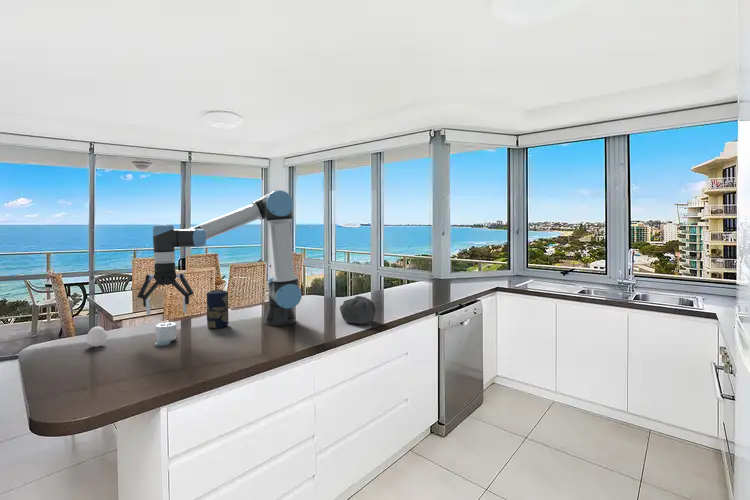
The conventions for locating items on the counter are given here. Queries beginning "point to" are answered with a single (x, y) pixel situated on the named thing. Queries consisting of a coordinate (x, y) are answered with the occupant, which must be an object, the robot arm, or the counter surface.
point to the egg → (96, 336)
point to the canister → (217, 308)
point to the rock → (358, 310)
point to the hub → (166, 332)
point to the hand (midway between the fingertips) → (167, 313)
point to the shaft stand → (163, 343)
